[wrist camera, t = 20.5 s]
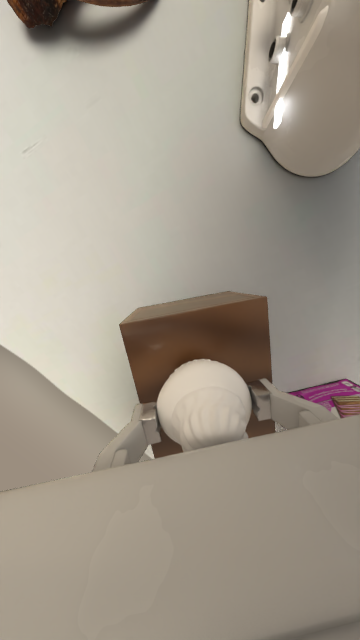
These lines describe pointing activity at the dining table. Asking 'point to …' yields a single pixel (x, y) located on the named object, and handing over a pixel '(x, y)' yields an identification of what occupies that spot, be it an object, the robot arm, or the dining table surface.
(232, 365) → the cabinet
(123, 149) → the dining table surface
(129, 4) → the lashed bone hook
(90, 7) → the dining table surface
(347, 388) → the candy bar box
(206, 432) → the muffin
